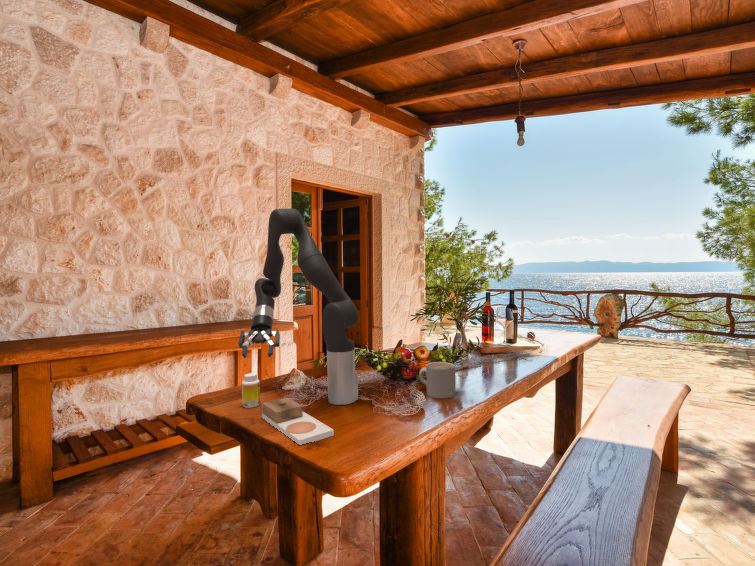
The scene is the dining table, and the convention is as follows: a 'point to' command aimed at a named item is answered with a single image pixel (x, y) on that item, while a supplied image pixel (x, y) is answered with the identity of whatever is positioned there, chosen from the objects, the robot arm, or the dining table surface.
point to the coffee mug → (439, 379)
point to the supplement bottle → (250, 390)
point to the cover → (282, 410)
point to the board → (302, 428)
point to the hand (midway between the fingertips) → (257, 356)
